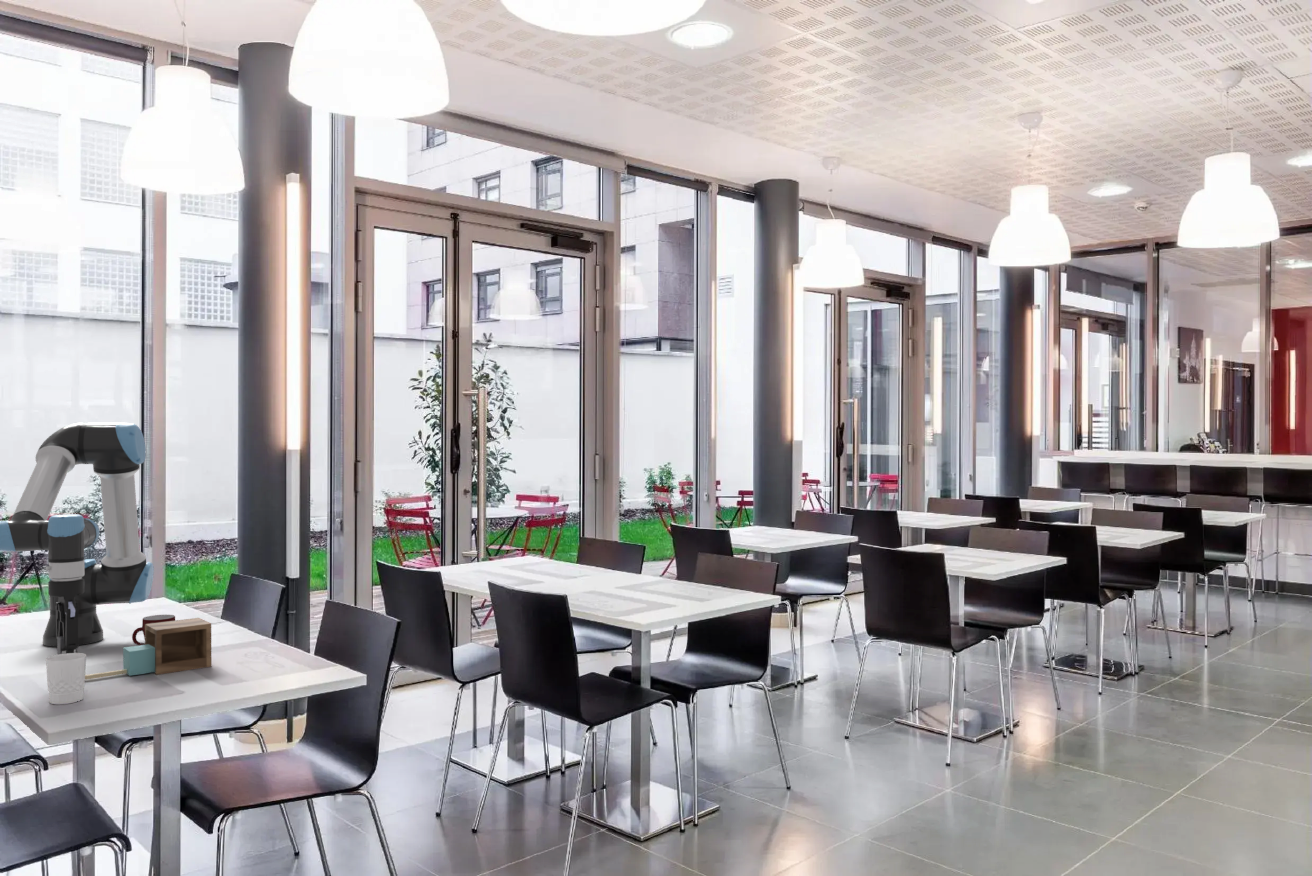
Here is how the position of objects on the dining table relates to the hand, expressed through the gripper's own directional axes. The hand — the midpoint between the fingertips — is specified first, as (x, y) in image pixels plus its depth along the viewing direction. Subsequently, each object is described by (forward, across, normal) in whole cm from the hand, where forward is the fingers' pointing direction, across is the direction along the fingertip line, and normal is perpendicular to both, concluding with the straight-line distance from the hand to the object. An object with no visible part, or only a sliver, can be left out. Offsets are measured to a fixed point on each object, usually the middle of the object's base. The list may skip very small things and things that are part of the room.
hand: (67, 674), depth 241 cm
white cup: (+2, +17, -4) cm, 18 cm away
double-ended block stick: (+2, 0, +9) cm, 9 cm away
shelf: (+2, 0, +25) cm, 25 cm away
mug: (+2, -20, +25) cm, 32 cm away
